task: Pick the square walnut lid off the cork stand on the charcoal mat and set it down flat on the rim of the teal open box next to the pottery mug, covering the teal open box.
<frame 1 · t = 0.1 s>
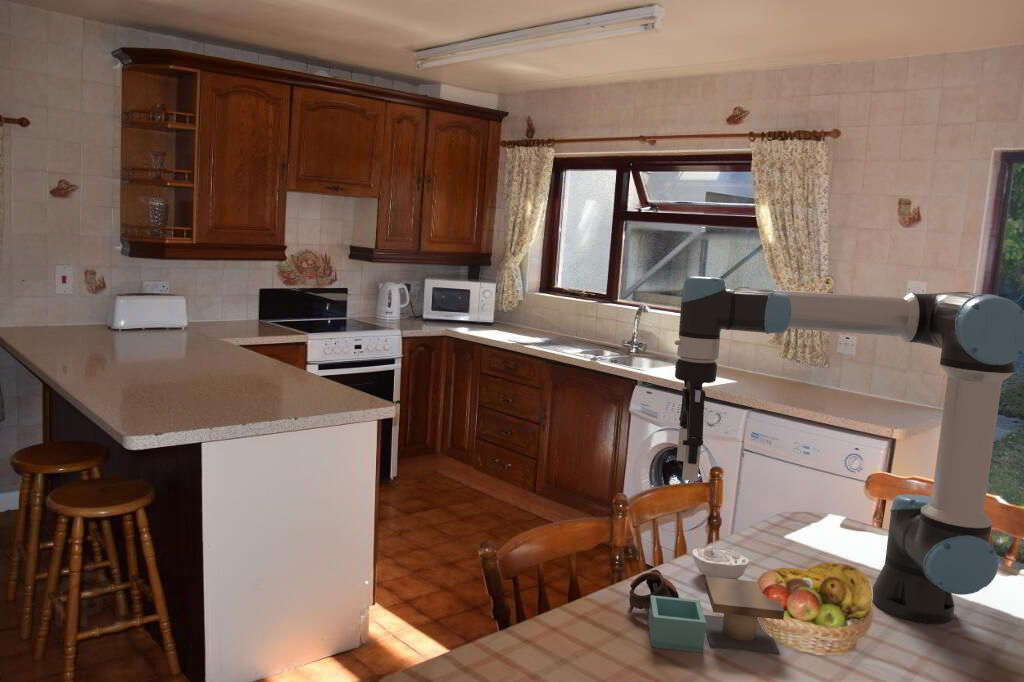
hand: (686, 470, 154), 28 cm above the table, fingers open, 13 cm apart
mat stand: (738, 634, 149), on the table
pottery mug: (654, 609, 158), on the table
teal open box: (674, 637, 146), on the table
cell model: (718, 579, 174), on the table
lid: (742, 601, 148), point 6 cm above the table, touching mat stand
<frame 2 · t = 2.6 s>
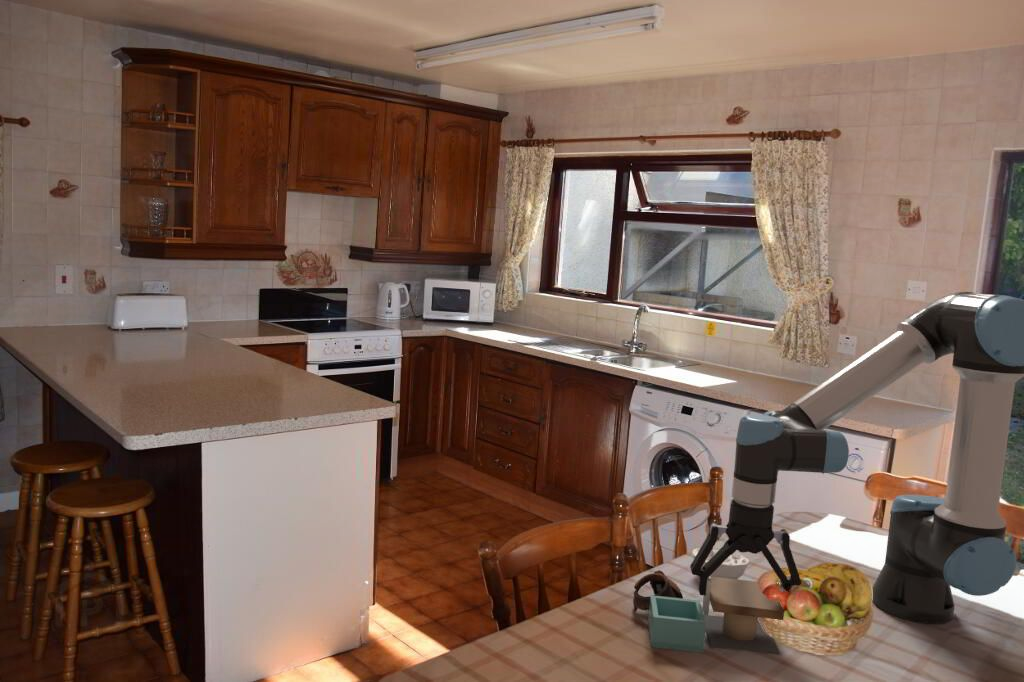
hand: (740, 615, 148), 4 cm above the table, fingers closed on lid, 12 cm apart
lid: (742, 601, 148), point 6 cm above the table, touching gripper, mat stand
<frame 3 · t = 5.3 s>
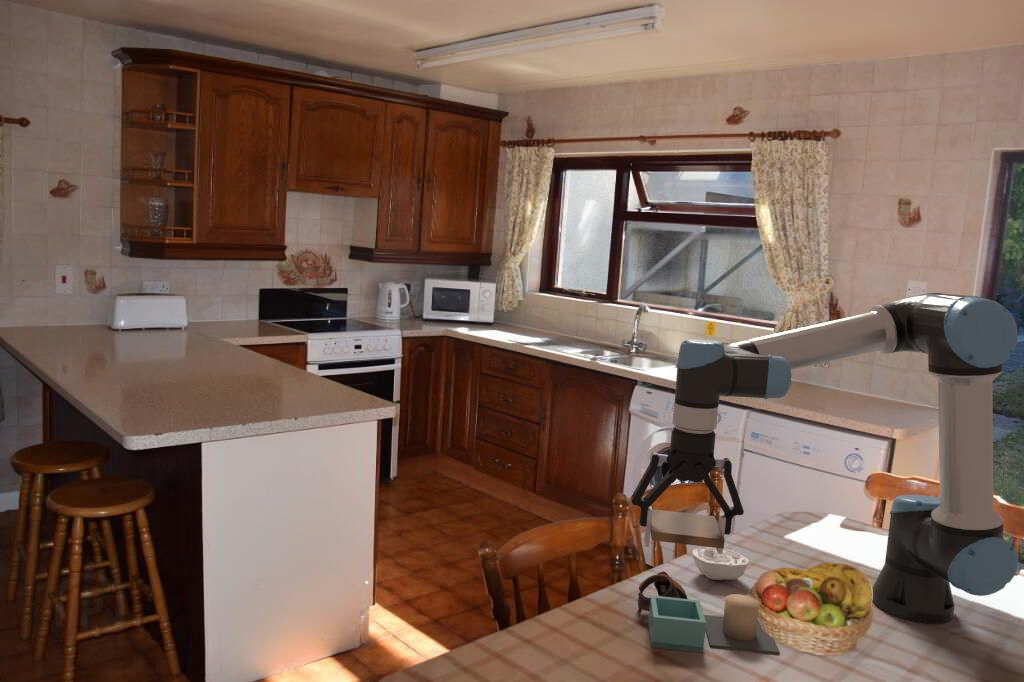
hand: (682, 547, 144), 17 cm above the table, fingers closed on lid, 12 cm apart
lid: (684, 532, 144), point 20 cm above the table, touching gripper
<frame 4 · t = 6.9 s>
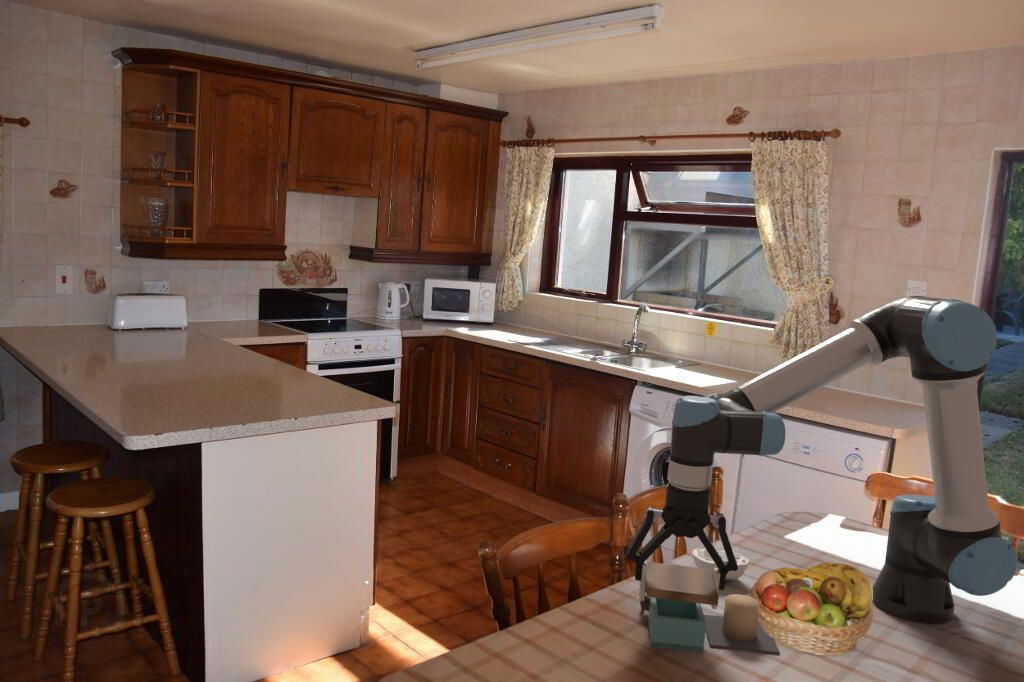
hand: (677, 601, 145), 7 cm above the table, fingers closed on lid, 12 cm apart
lid: (678, 586, 145), point 10 cm above the table, touching gripper
when the fingers open (4 cm above the table, at t = 8.1 s): lid drops 1 cm, resting on teal open box, pottery mug.
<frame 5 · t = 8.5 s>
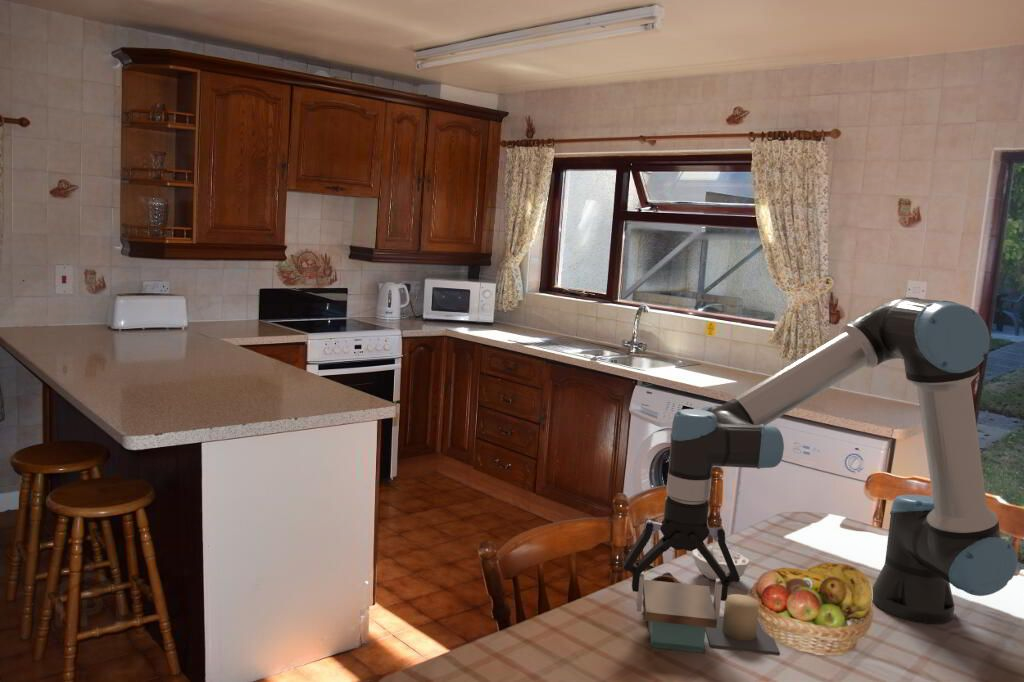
hand: (676, 612, 145), 5 cm above the table, fingers open, 13 cm apart
pottery mug: (667, 612, 157), on the table, touching lid
lid: (677, 606, 145), point 6 cm above the table, touching teal open box, pottery mug
everything else where it was.
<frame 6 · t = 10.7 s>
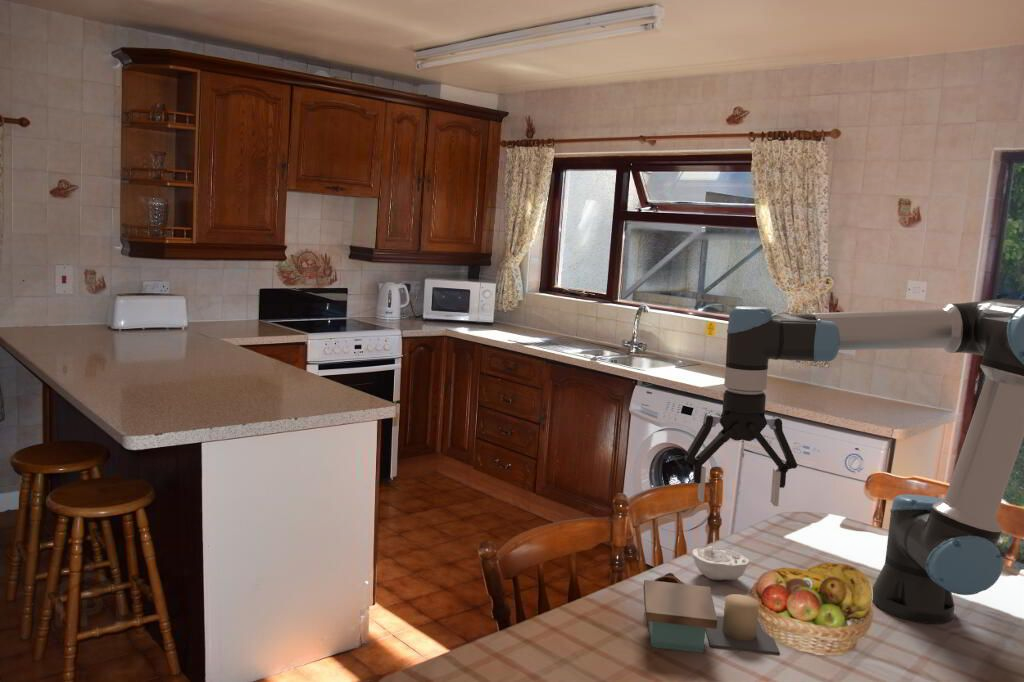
hand: (737, 502, 152), 23 cm above the table, fingers open, 13 cm apart
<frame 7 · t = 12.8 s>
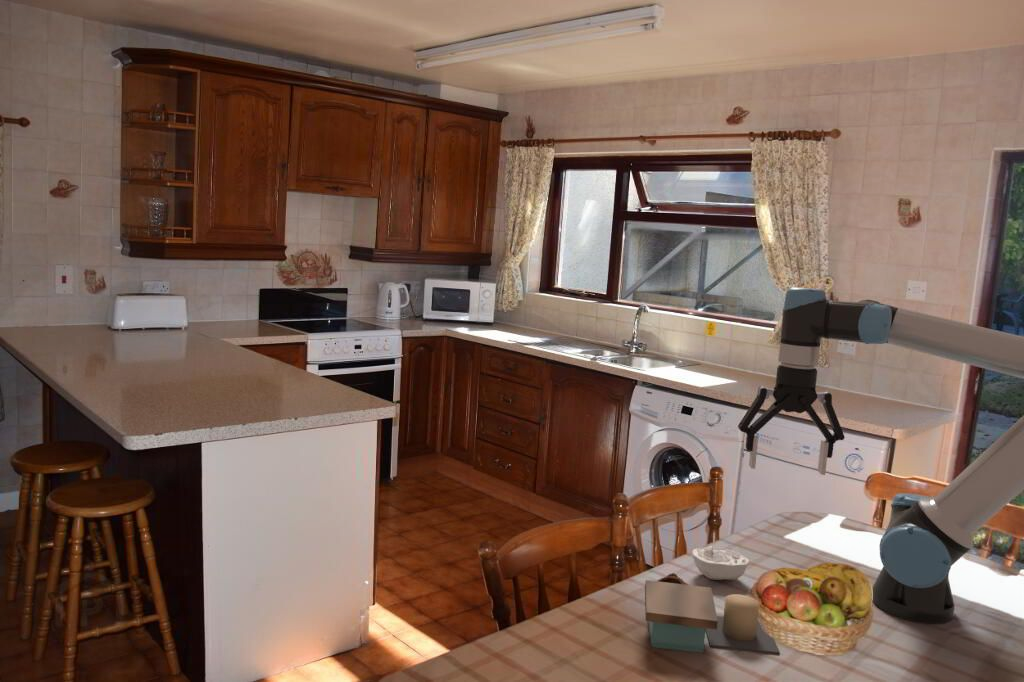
hand: (786, 470, 163), 27 cm above the table, fingers open, 13 cm apart
at the end: lid 0.4 cm off-centre on the teal open box, point 5.8 cm above the teal open box's base; lid tilted 4°; the gripper is holding nothing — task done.
